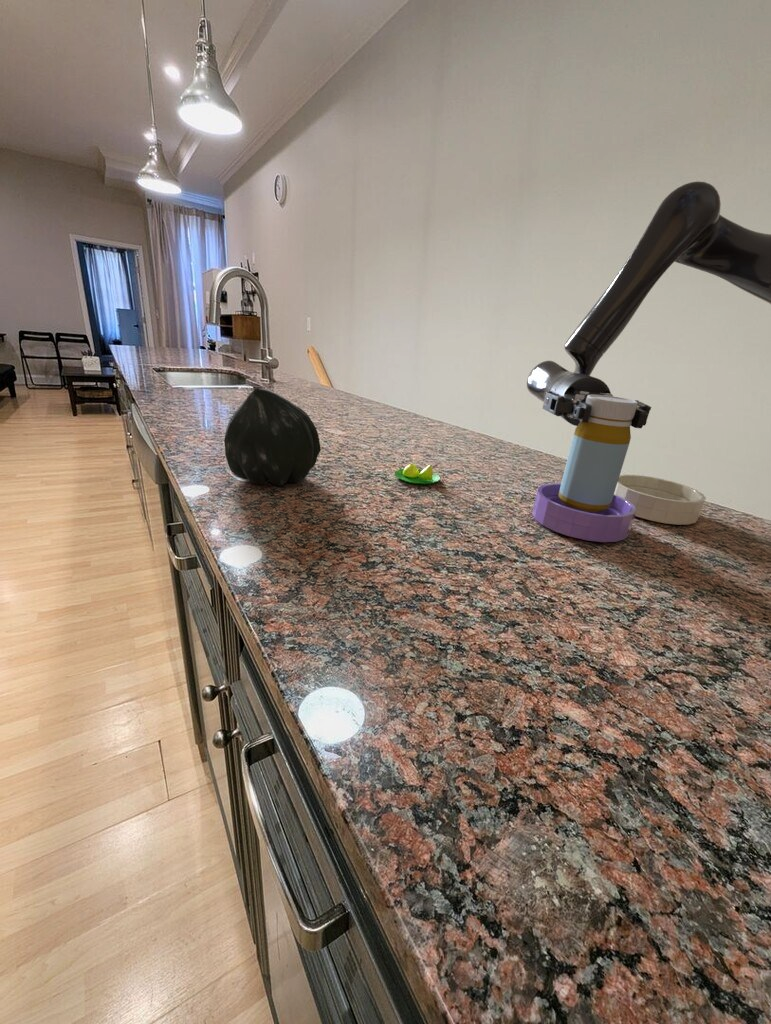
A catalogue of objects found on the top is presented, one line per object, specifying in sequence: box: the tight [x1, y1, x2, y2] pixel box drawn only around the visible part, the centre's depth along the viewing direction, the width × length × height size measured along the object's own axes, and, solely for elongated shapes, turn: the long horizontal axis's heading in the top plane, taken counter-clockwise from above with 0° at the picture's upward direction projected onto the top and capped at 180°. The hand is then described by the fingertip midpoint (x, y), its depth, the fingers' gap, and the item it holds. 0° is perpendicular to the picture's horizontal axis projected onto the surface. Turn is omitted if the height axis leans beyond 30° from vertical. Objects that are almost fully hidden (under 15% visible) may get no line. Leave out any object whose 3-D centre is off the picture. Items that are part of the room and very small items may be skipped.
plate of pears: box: [393, 462, 441, 485], centre depth 78 cm, size 8×8×3 cm
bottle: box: [559, 395, 638, 512], centre depth 62 cm, size 7×7×15 cm
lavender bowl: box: [531, 482, 636, 543], centre depth 65 cm, size 13×13×4 cm
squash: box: [223, 387, 322, 486], centre depth 70 cm, size 14×15×15 cm
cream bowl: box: [614, 474, 707, 526], centre depth 73 cm, size 13×13×4 cm
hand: (614, 417), depth 57 cm, fingers closed on bottle, 6 cm apart
